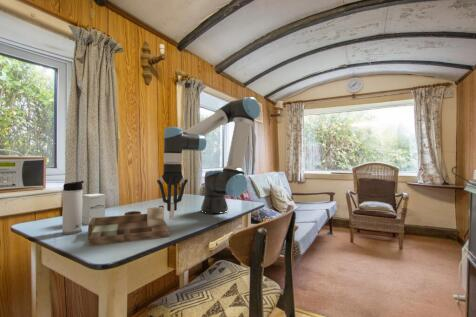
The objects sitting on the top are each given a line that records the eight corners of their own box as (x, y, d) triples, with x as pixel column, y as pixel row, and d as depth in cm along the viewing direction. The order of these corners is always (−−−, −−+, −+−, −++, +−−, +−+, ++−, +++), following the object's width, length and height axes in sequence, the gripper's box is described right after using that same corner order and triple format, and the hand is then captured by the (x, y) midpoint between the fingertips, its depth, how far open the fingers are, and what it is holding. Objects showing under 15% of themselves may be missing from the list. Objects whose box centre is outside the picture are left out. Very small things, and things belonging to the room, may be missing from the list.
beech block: (161, 220, 102) (162, 207, 102) (163, 224, 97) (163, 209, 97) (147, 222, 100) (147, 207, 100) (148, 225, 94) (148, 210, 94)
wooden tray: (163, 224, 105) (163, 212, 105) (169, 236, 89) (169, 222, 89) (92, 231, 94) (92, 217, 94) (84, 246, 78) (84, 229, 78)
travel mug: (82, 233, 92) (83, 181, 92) (61, 235, 88) (62, 182, 88) (83, 229, 97) (84, 180, 97) (63, 231, 94) (64, 180, 94)
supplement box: (88, 225, 102) (88, 196, 102) (79, 222, 106) (80, 194, 106) (105, 221, 109) (105, 194, 109) (96, 219, 113) (97, 192, 113)
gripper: (186, 163, 107) (185, 215, 107) (155, 163, 102) (154, 217, 102) (189, 163, 100) (188, 219, 100) (157, 163, 95) (156, 222, 95)
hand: (171, 218), depth 101 cm, fingers closed
